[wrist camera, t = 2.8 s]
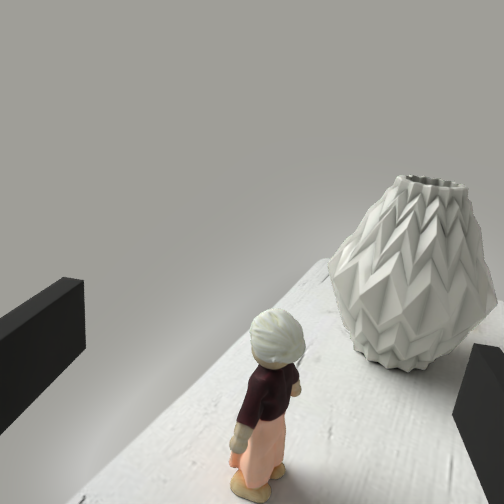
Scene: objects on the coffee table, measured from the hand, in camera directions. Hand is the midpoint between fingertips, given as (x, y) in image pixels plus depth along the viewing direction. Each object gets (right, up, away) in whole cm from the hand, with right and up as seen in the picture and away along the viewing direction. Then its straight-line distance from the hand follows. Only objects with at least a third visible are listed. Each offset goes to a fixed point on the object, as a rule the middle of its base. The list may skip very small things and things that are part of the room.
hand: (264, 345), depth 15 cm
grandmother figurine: (0, -12, +15) cm, 19 cm away
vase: (+15, -8, +33) cm, 37 cm away
